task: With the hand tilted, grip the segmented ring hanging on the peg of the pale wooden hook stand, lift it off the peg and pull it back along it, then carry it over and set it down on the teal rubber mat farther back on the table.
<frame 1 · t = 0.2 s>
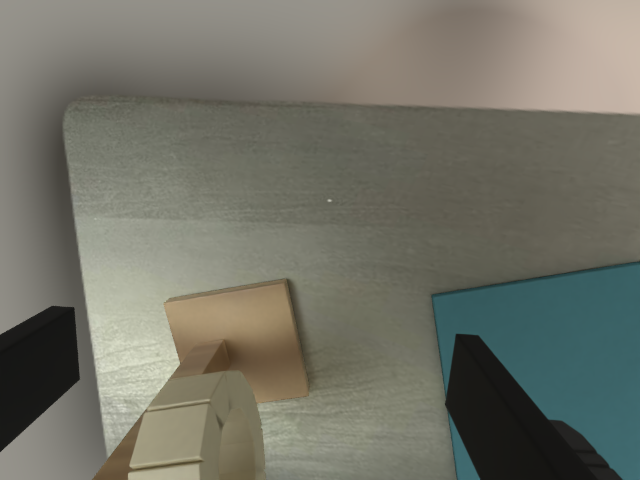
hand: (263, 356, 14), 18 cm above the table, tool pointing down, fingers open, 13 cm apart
segmented ring: (234, 412, 24), point 9 cm above the table, touching hook stand
hook stand: (263, 340, 33), on the table
mat: (544, 401, 33), on the table
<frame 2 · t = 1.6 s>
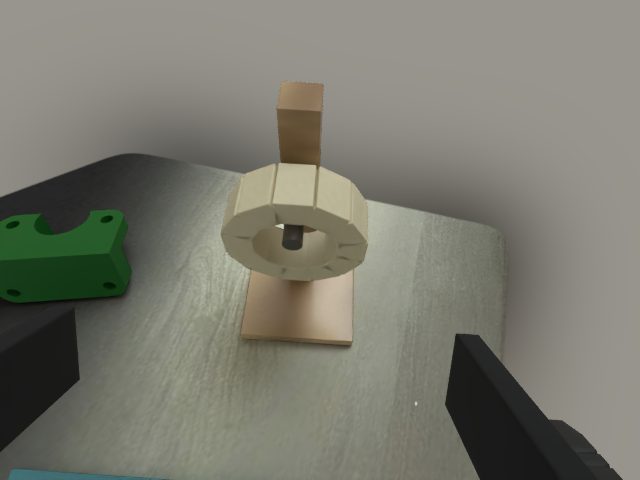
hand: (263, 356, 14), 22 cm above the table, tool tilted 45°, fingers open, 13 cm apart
segmented ring: (297, 262, 29), point 9 cm above the table, touching hook stand
hook stand: (299, 311, 37), on the table
clamp: (81, 268, 39), on the table
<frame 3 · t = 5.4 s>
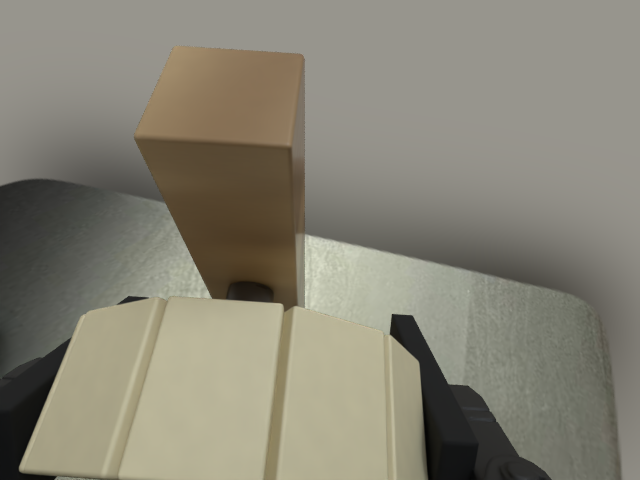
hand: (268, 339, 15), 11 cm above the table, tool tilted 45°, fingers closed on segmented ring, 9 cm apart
segmented ring: (260, 438, 14), point 9 cm above the table, touching gripper, hook stand
hook stand: (276, 456, 22), on the table
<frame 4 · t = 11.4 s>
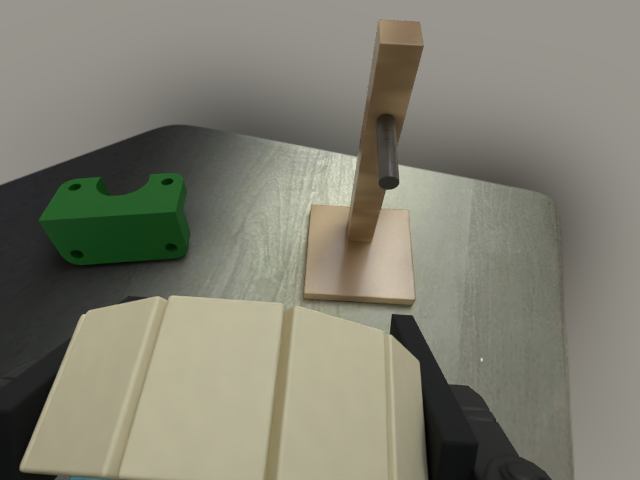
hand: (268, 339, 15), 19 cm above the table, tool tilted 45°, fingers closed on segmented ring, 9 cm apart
segmented ring: (260, 438, 14), point 17 cm above the table, touching gripper
hook stand: (358, 273, 38), on the table
clamp: (137, 233, 39), on the table
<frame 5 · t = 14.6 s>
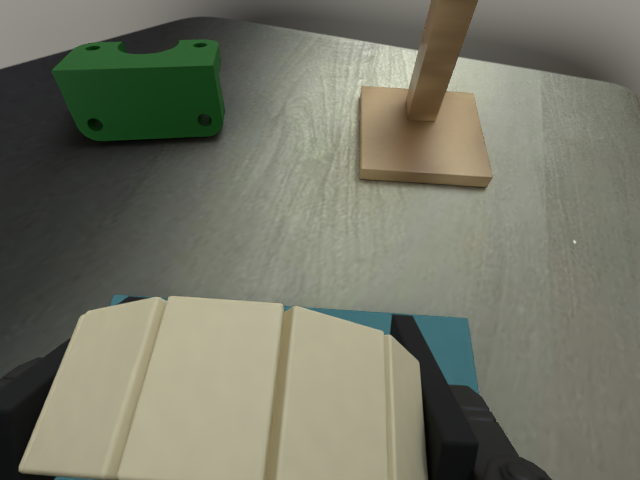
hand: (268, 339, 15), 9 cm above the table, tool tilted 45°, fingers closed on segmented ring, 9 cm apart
segmented ring: (260, 438, 14), point 7 cm above the table, touching gripper
hook stand: (420, 155, 32), on the table
clamp: (163, 115, 34), on the table
mat: (275, 453, 21), on the table
when the fingers open (2 cm above the table, at t = 17.1 s): segmented ring stays where it is, resting on mat.
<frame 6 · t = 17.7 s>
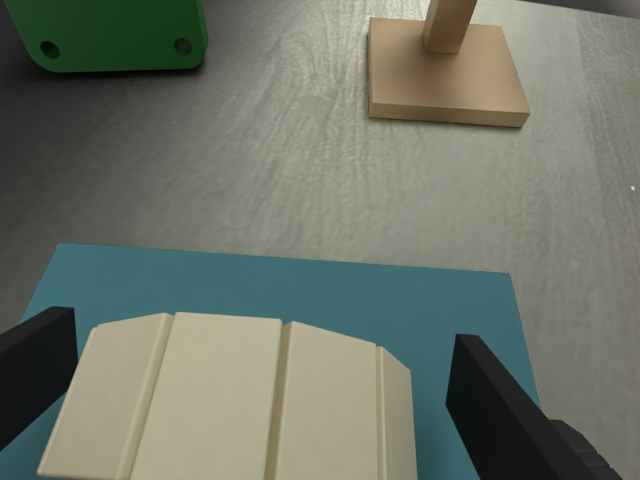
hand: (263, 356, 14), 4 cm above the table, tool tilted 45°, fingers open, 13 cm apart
segmented ring: (260, 442, 15), point 1 cm above the table, touching mat
hook stand: (440, 93, 27), on the table
clamp: (136, 49, 29), on the table
mat: (262, 442, 15), on the table
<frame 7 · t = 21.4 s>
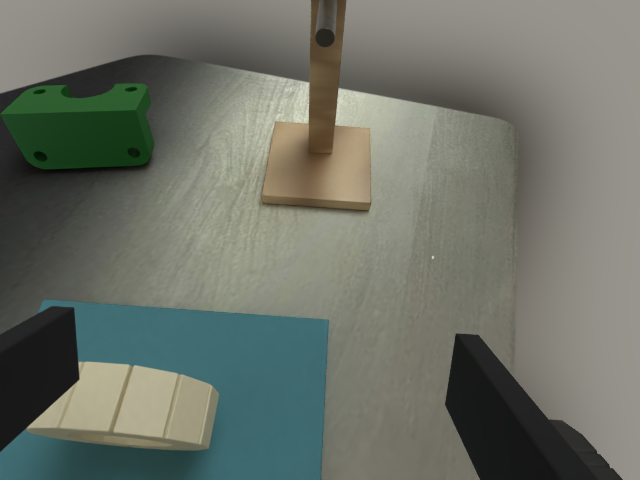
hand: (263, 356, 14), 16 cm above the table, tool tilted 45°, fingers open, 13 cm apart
segmented ring: (156, 423, 26), point 1 cm above the table, touching mat
hook stand: (318, 182, 38), on the table
clamp: (103, 146, 40), on the table
mat: (159, 424, 26), on the table
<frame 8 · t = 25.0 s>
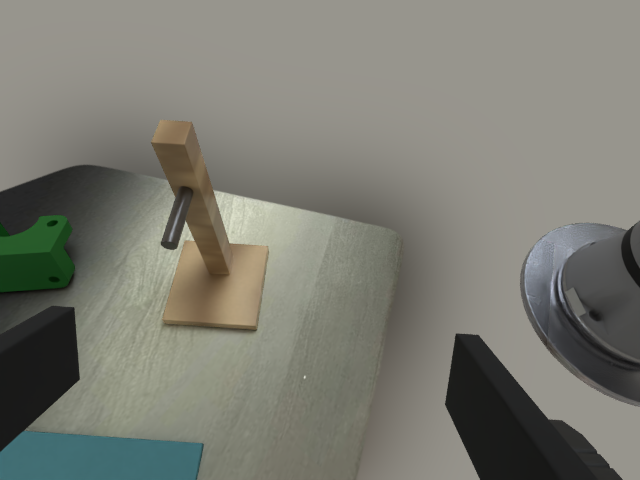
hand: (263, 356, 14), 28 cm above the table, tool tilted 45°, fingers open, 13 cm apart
hook stand: (216, 301, 44), on the table
clamp: (33, 265, 46), on the table
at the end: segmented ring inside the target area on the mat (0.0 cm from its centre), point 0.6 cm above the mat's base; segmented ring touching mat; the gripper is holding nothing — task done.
